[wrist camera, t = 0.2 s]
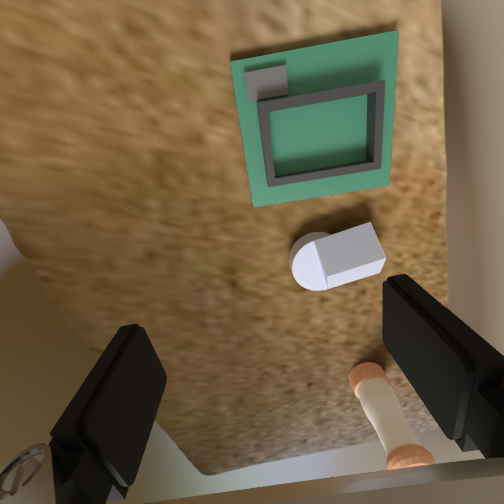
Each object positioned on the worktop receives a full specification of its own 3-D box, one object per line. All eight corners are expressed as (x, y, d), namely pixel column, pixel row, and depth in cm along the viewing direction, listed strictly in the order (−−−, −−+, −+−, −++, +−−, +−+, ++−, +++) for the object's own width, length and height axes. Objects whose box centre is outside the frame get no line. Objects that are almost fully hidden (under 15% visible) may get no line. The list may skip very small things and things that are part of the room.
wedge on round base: (360, 215, 40) (282, 242, 42) (381, 229, 34) (288, 260, 36) (370, 263, 44) (297, 286, 45) (390, 283, 38) (305, 309, 39)
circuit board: (230, 64, 32) (228, 55, 28) (393, 33, 31) (411, 20, 27) (253, 205, 39) (253, 211, 36) (385, 183, 38) (398, 188, 35)
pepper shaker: (379, 358, 53) (446, 467, 35) (384, 381, 56) (448, 493, 38) (345, 367, 54) (393, 478, 36) (351, 389, 56) (399, 502, 39)
